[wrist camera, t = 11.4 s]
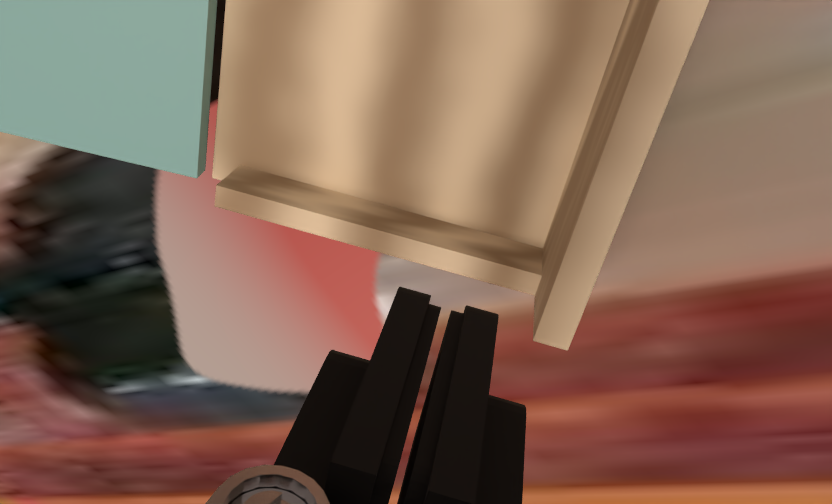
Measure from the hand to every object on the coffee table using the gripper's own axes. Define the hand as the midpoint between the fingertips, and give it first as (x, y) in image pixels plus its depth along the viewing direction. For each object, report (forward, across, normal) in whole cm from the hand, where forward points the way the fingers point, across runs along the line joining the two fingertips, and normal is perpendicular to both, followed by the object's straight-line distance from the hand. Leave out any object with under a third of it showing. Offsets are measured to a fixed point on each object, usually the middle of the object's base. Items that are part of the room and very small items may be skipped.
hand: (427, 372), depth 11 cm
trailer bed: (+27, +4, 0) cm, 27 cm away
